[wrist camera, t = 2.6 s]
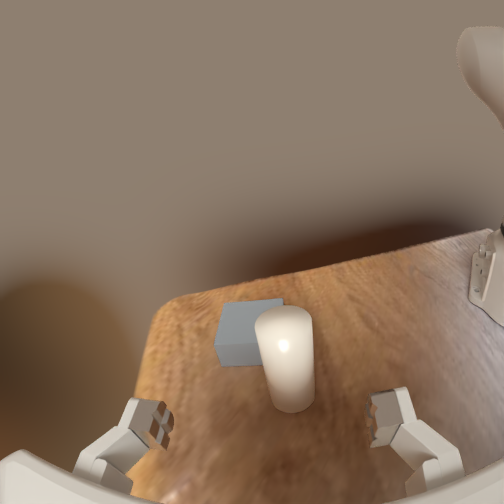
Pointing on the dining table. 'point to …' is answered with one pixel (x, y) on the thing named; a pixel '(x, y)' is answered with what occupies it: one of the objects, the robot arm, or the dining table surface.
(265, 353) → the white pillar candle
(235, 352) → the plinth
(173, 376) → the dining table surface
